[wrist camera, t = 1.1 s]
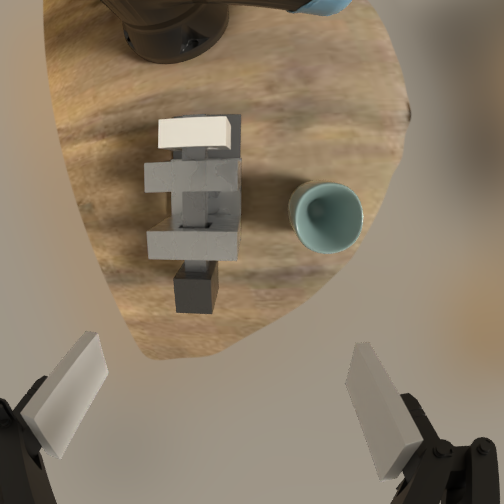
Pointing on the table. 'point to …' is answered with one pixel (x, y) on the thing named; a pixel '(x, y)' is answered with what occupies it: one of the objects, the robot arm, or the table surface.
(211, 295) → the shaft
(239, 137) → the mat
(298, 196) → the cup
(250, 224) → the table surface
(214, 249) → the bearing block
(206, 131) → the block
